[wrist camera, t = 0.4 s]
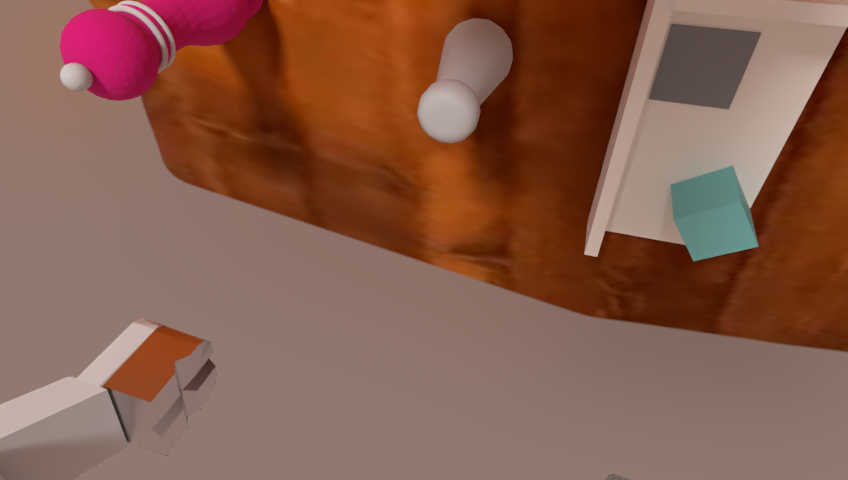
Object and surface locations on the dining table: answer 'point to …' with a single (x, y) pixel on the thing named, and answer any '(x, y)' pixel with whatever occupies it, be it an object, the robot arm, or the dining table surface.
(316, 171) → the dining table surface
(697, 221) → the cube
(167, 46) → the pepper mill
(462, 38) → the salt shaker
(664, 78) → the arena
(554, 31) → the dining table surface
